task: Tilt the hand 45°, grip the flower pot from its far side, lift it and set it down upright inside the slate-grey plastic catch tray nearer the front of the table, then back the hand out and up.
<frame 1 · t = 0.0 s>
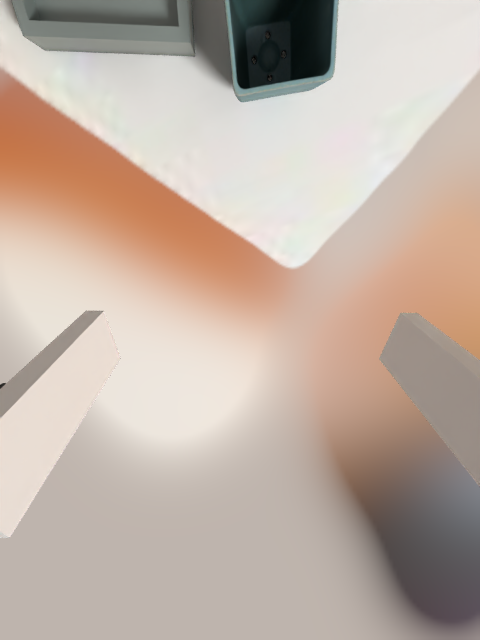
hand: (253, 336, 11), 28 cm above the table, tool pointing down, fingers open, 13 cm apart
flower pot: (267, 60, 25), on the table
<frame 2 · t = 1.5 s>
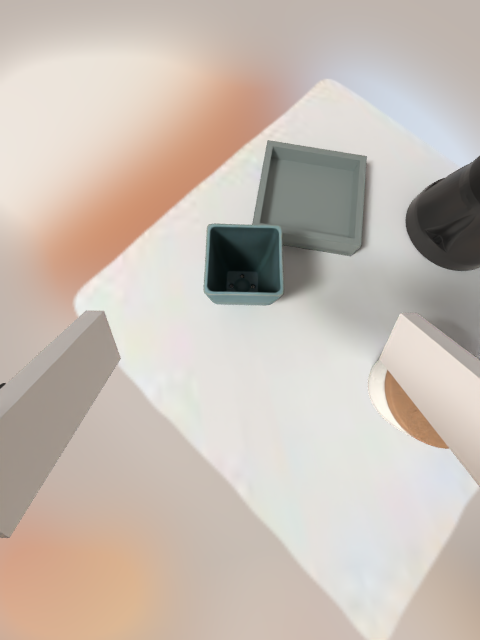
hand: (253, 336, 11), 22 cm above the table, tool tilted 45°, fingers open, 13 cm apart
catch tray: (305, 204, 37), on the table
flower pot: (241, 286, 34), on the table
lidded jar: (390, 387, 32), on the table
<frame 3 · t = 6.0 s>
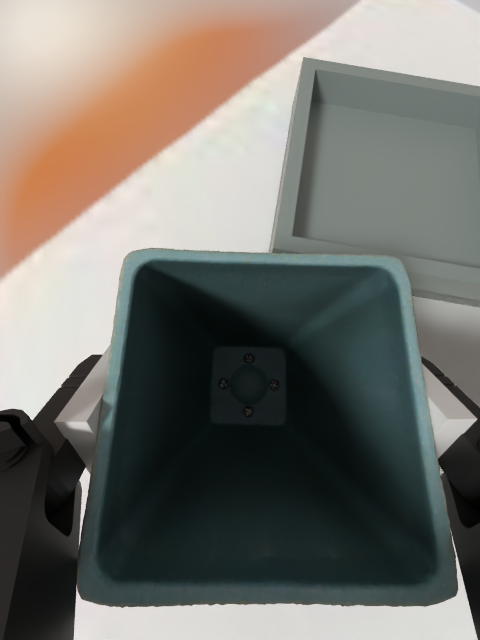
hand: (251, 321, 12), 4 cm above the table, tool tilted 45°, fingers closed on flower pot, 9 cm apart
catch tray: (379, 195, 18), on the table
flower pot: (247, 382, 15), on the table, touching gripper
when the fingers open (6 cm above the table, at t = 11.4 s): flower pot drops 1 cm, resting on catch tray.
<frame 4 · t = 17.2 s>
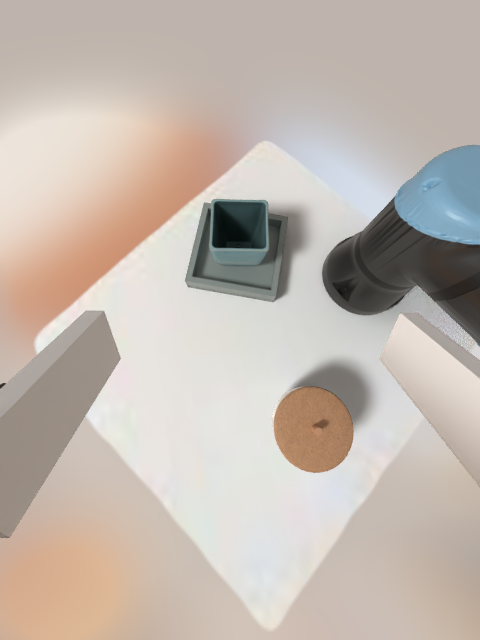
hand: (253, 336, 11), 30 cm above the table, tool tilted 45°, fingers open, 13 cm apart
catch tray: (238, 255, 44), on the table
flower pot: (238, 254, 43), point 1 cm above the table, touching catch tray
lidded jar: (297, 416, 38), on the table
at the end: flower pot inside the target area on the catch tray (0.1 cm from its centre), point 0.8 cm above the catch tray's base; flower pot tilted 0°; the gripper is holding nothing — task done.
